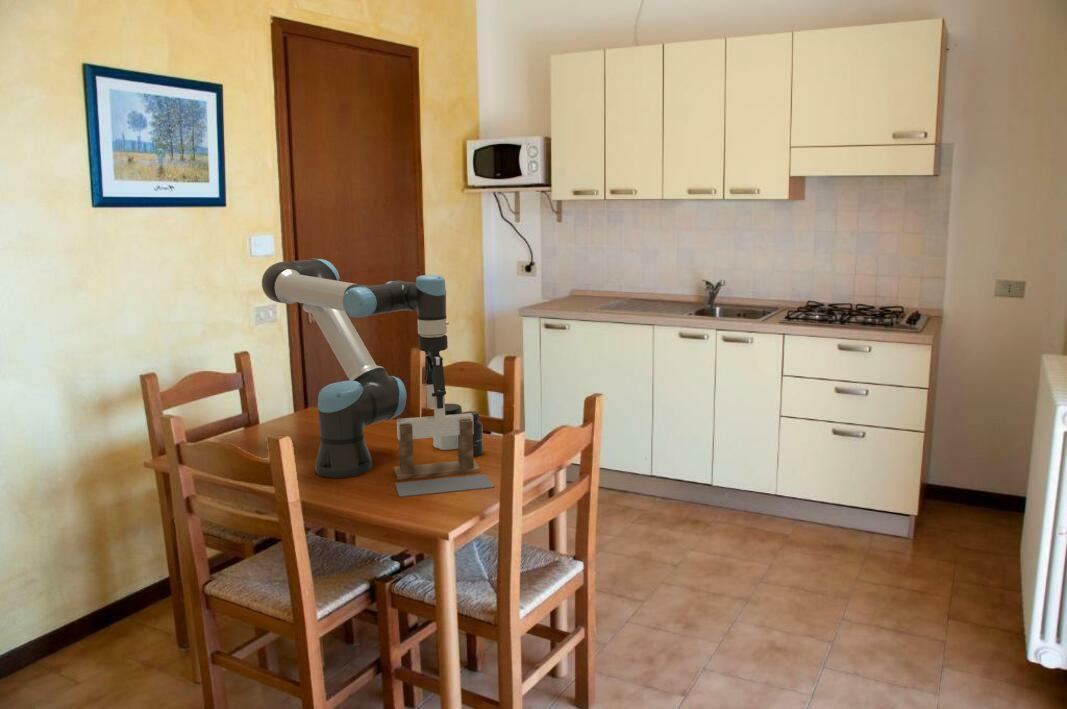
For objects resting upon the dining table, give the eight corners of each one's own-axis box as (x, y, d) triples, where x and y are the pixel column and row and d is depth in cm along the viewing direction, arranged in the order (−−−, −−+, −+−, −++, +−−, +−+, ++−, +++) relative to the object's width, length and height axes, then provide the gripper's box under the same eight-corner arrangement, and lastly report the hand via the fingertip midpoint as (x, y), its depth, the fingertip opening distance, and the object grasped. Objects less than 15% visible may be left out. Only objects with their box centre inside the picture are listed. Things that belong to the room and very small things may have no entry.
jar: (468, 446, 250) (467, 407, 247) (445, 452, 245) (444, 412, 242) (451, 440, 256) (450, 401, 254) (428, 445, 251) (427, 406, 249)
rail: (398, 440, 222) (398, 421, 221) (397, 437, 225) (396, 418, 224) (473, 434, 227) (473, 416, 226) (471, 431, 230) (470, 413, 229)
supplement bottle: (483, 456, 240) (482, 415, 238) (458, 457, 240) (457, 416, 237) (483, 449, 247) (482, 409, 244) (459, 450, 246) (458, 410, 244)
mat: (399, 497, 209) (399, 496, 209) (394, 484, 218) (394, 483, 218) (494, 487, 215) (494, 486, 215) (485, 475, 224) (485, 474, 224)
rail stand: (397, 479, 221) (395, 428, 219) (394, 470, 229) (392, 420, 226) (479, 472, 227) (478, 421, 224) (473, 463, 234) (472, 414, 232)
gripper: (455, 341, 210) (458, 424, 214) (439, 327, 233) (442, 401, 237) (425, 343, 208) (428, 426, 212) (412, 328, 232) (415, 404, 235)
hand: (435, 413), depth 225 cm, fingers open, 13 cm apart
